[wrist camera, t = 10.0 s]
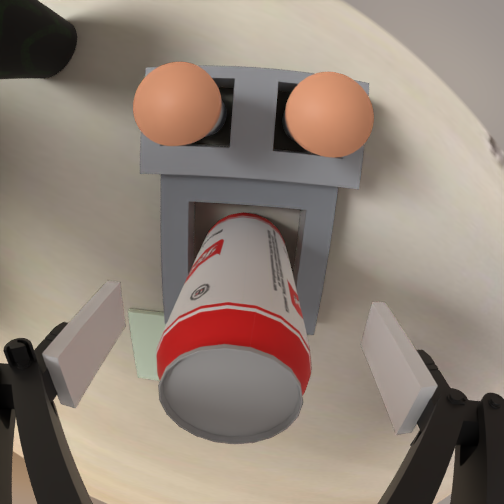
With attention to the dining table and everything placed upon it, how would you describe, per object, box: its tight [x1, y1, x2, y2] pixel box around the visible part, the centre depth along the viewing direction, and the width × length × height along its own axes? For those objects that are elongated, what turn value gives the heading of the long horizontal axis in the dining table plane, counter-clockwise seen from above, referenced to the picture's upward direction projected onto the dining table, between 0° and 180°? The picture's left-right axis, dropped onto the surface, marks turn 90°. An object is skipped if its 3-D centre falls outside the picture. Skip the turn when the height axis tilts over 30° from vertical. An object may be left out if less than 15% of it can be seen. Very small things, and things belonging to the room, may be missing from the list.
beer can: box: [156, 212, 312, 444], centre depth 18 cm, size 6×6×16 cm
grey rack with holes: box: [140, 66, 369, 335], centre depth 22 cm, size 14×19×4 cm
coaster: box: [128, 308, 166, 381], centre depth 29 cm, size 8×8×1 cm
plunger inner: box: [133, 62, 227, 146], centre depth 17 cm, size 4×4×8 cm
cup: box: [0, 0, 77, 79], centre depth 14 cm, size 8×8×12 cm
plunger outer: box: [282, 72, 374, 158], centre depth 17 cm, size 4×4×8 cm
